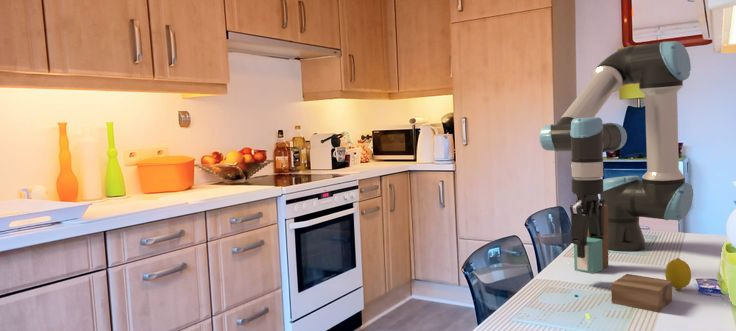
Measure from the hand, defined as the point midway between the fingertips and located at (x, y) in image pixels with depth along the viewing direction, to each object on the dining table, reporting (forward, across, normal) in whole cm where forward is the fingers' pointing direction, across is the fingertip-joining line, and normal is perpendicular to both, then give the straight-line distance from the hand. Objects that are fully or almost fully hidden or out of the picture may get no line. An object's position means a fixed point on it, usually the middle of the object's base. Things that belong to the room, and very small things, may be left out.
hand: (588, 266), depth 141 cm
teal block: (+1, 0, 0) cm, 1 cm away
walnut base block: (+5, +5, +16) cm, 17 cm away
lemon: (+5, -10, +18) cm, 21 cm away
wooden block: (+5, -14, -6) cm, 16 cm away
